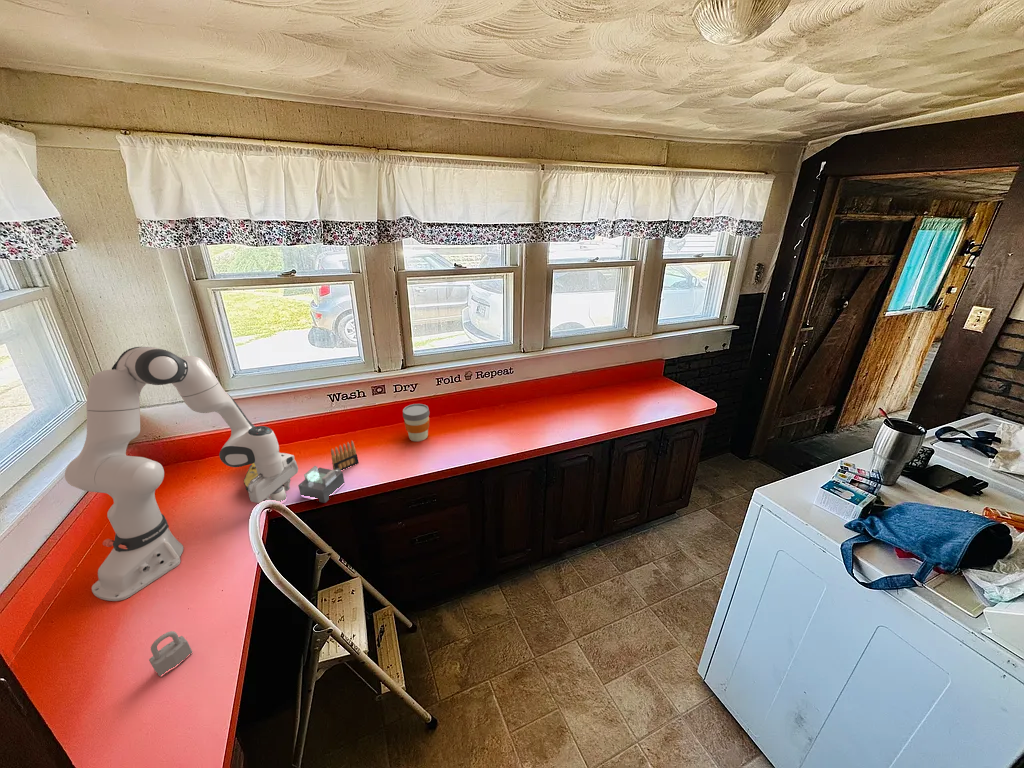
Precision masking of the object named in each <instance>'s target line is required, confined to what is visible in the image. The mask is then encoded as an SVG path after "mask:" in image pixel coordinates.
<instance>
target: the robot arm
mask: <svg viewBox="0 0 1024 768" xmlns="http://www.w3.org/2000/svg"><path fill="white" fill-rule="evenodd" d="M169 384H172V385H173V387H174V388H176V390H177V392H178V394H179V395H180V397H181V399H182V401H183V402H184V404H185V405H186V406H187V407H188V408H189V409H190V410H191V411H193V412H196V413H199V414H209V413H214V412H215V413H217V414H219V415H220V416H221V418H222V419H223V420H224V422H225V423H226V424H227V426H228V427H229V428H230V430H231V432H230V437H229V438H228V440H227V441H226V442H225V443H224V445H223V446H222V448H221V449H220V451H219V454H218V455H219V459H220V461H221V462H222V463H223V464H224V465H225V466H227V467H230V468H240V467H245V466H246V467H247V466H251V464H252V463H254V464H255V467H256V470H257V473H258V476H256V477H255V478H254V479H252V480H251V481H250V483H249V485H248V491H249V492H248V491H247V492H248V497H249V500H250V502H252V503H255V504H261V503H262V502H263V501H266V500H273V498H271V496H270V494H272V493H273V492H274V491H275V490H277V489H278V488H279V487H280V486H282V485H283V484H284V486H283V487H284V490H285V492H287V491H289V490H290V489H291V487H290V483H291V481H292V479H291V478H293V477H294V476H295V475H296V474H298V472H299V467H298V463H297V461H296V459H295V455H294V454H290V453H286V452H280V446H279V445H280V444H279V442H278V438H277V436H276V434H275V432H274V430H273V429H272V428H270V427H269V426H265V425H258V426H256V425H255V424H253V423H252V422H251V421H250V420H249V419H248V417H247V416H246V414H245V413H244V412H243V410H242V409H241V407H240V406H239V405H238V404H237V402H236V401H235V399H234V398H233V397H232V396H231V395H230V394H228V393H227V392H226V391H225V388H223V386H222V385H221V383H220V381H219V380H218V378H217V377H216V375H215V373H214V372H213V370H211V368H210V367H209V366H208V365H207V363H206V362H205V361H204V360H203V359H202V358H200V357H199V356H196V355H185V356H182V357H180V356H179V355H177V354H175V353H173V352H171V351H169V350H165V349H162V348H157V347H155V346H135V347H131V348H128V349H127V350H125V351H124V352H122V353H121V355H120V356H119V357H118V359H117V361H115V363H114V364H113V366H112V367H111V369H105V370H101V371H98V372H96V373H94V374H93V375H92V376H91V377H90V379H89V384H88V388H87V394H86V395H87V396H86V436H85V441H84V443H83V447H82V449H81V452H80V453H79V455H78V456H77V457H75V458H74V459H73V460H71V461H70V462H69V464H68V465H67V466H66V469H65V471H64V479H65V481H66V482H67V484H69V486H71V487H74V488H77V489H79V490H81V491H84V492H91V493H102V494H107V495H109V497H111V498H112V500H113V504H112V505H111V506H110V508H109V509H108V511H107V519H108V520H109V522H110V525H111V527H112V529H113V531H114V533H115V534H114V540H113V539H110V538H106V539H104V540H103V541H102V545H103V547H107V548H111V547H113V548H112V549H111V551H110V553H109V554H108V555H107V556H106V558H105V559H104V561H103V562H102V563H101V565H100V566H99V567H98V569H97V579H98V580H97V581H95V583H93V584H92V586H91V592H92V594H93V595H94V596H95V597H96V598H98V599H100V600H102V601H103V600H104V601H110V602H111V601H112V602H119V601H123V600H126V599H128V598H130V597H131V596H133V595H134V594H136V593H137V592H139V591H140V590H142V589H144V588H145V587H147V586H149V585H150V584H151V583H153V582H155V581H156V580H158V579H159V578H161V577H162V576H163V575H165V574H166V573H169V572H170V571H172V570H173V569H174V568H176V567H178V566H179V565H180V563H181V556H182V554H183V552H184V545H183V543H181V542H180V541H178V539H177V538H176V537H175V535H173V534H172V531H171V530H170V528H169V527H170V526H169V522H168V520H167V519H166V517H165V515H164V514H163V513H162V512H161V510H160V508H159V504H158V503H157V500H156V495H155V493H156V490H157V489H159V487H160V485H161V484H162V483H163V481H164V479H165V470H164V467H163V465H162V464H161V463H160V462H158V461H156V460H152V459H150V458H147V457H144V456H137V455H135V456H134V455H133V456H132V455H127V449H128V445H129V443H130V442H131V441H132V440H134V439H135V438H137V437H138V436H139V435H140V433H141V403H140V402H141V401H140V396H141V392H142V390H143V388H144V387H145V386H146V385H153V386H163V385H169Z"/></svg>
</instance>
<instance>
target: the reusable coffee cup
mask: <svg viewBox="0 0 1024 768" xmlns="http://www.w3.org/2000/svg"><path fill="white" fill-rule="evenodd" d="M430 413H431V412H430V409H429V406H428V405H426V404H423V403H413V404H409V405H407V406H405V407H404V408H403V409H402V418H403V420H404V421H403V422H404V426H405V430H406V432H407V433H408V438H409V440H411V441H412V442H422V441H424V440H427V438H428V436H429V427H430V417H429V416H430Z"/></svg>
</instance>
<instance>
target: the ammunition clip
mask: <svg viewBox="0 0 1024 768" xmlns="http://www.w3.org/2000/svg"><path fill="white" fill-rule="evenodd" d="M350 441H351V442H350V443H349V441H347V442H346V444H345V443H342V445H341V444H339V447H337V446H335V448H331V449H330V453H331V455H330V456H331V462H332V463H331V464H332V469H333V470H335V469H336V468H340V470H343V469H345V470H347V469H348V467H350V466H352V467H354V466H356V465H359V463H360V462H359V458H358V454H357V451H356V447H355V443H354V441H353V440H350ZM355 464H356V465H355ZM353 465H354V466H353ZM346 468H347V469H346ZM350 468H351V467H350ZM343 471H344V470H343Z"/></svg>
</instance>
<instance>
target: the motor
mask: <svg viewBox="0 0 1024 768" xmlns="http://www.w3.org/2000/svg"><path fill="white" fill-rule="evenodd" d="M303 476H304V479H303V481H302V482H300V483H299V484H298V489H299V495H300V496H301V495H304V496H310V497H315V498H318V499H319V503H324V504H326V503H327V502H328V501H329V500H330V499H329V495H330V494H332V493H333V492H334V491H335V490H336V489H337V488H339V487H340V486H341V485H342V484H343V483H345V478H344V473H343V471H341V470H340V468H336V469H335V470H333V468H331V469H329V468H324V467H318V466H317V465H314V466H313V467H312V468H310V469H309V470H308V471H307V472H305V473H304V474H303ZM345 484H346V483H345Z"/></svg>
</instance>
